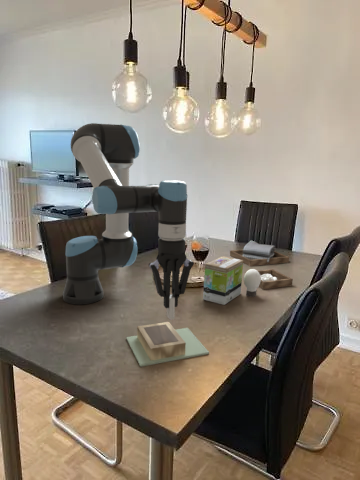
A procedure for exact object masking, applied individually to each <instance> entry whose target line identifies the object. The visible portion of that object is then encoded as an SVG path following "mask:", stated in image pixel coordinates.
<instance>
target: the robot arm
mask: <svg viewBox="0 0 360 480" xmlns="http://www.w3.org/2000/svg"><path fill="white" fill-rule="evenodd" d="M134 128H135V127H133V126H130V125H125V124H124V125H123V124H112V123H108V124H107V123H98V122H93V123H92V122H91V123H87V124H84V125H82V126H80V127H79V128H78V129H77V130H76V131H74V133H73V134H72V136H71V139H70V150H71V153H72V155H73V157H74V158H75V159H76V160H77V161H78V162H79V163H81V166H82V168H83V170H84V172H85V173H86V175H87V178H88V179H89V182H90V183H91V185H92V188H93V191H92V193H91V194H92V196H91V197H92V198H91V200H92V201H91V202H92V206H93V210H94V212H95V213H96V214H99V215H105V230H104V231H103V232H102V234H101V239H99V238H97V236H95V235H83V236H82V235H81V236H78V237H75V238H71V239H70V240H68V241H67V242H66V245H65V252H64V253H65V263H66V264H65V265H66V266H65V267H66V282H65V286H64V288H63V292H62V300H63V301H64V303H68V304H71V305H89V304H94V303H97V302H99V301H101V300H102V299H103V298H104V289H103V287H102V283H101V281H100V278H99V271H100V270H109V269H118V268H125V267H129V266H132V265H133V264H134V263H135V262H136V260H137V255H138V242H137V239H136V238H135V237H134V236H133V233H132V232H131V231H130V230H129V216H130V215H129V214H131V213H149V212H156V213H158V231H157V232H158V235H157V236H158V237H159V238H158V240H157V241H158V244H157V245H158V246H157V251H158V252H157V256H156V260H154V261H153V262H149V263H148V267H149V269H150V270H151V272H152V276H153V280H154V281H153V282H154V285H155V288H156V293H157V295H159V297H161V298H162V297H163V306H164V308H165V309H166V311H165V312H166V315H165V316H166V317H167V319H168V320H169V321H170V320H175V315H176V314H175V309H176V308H178V304H179V298H180V295H184V294H185V291H186V287H187V283H188V281H189V276H190V273H191V269H192V268H193V266H194V264H195V262H194V261H193V260H191V259H189V258H187V255H186V241H187V240H186V238H185V237H187V236H186V235H187V232H186V231H187V212H188V211H187V210H188V209H187V207H188V192H187V191H188V186H187V183H186V182H185V181H181V180H161V181H160V182H159V184H156V183H155V184H152V183H151V184H146V185H130V168H131V167H132V166H133V165H134V159H137V158H138V157H139V155H140V154H139V153H140V151H141V150H140V149H141V148H140V145H141V144H140V139H139V136H138V133H137V131H136V129H134ZM159 265H160V267H161V268H162V272H163V279H162V280H161V275H160V272H159ZM182 266H183V267H182ZM181 268H182V270H181ZM180 274H181V275H180ZM162 281H163V285H162Z"/></svg>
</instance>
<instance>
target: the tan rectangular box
mask: <svg viewBox="0 0 360 480" xmlns="http://www.w3.org/2000/svg"><path fill="white" fill-rule="evenodd" d="M136 336H137V337H138V339H139V341H140V343H141V344H142V346H143V348H144V350H145V351H146V353H147V355H148V357H149V358H150V360H157V359H162V358H168V357H173V356H179V355H184V354H185V347H186V343H185V341H184V340H183V339H182V338H181V336H180V335H179V334H178V333H177V332H176V329H175V328H174V326H173V325H172V324H171V323H170V321H164V322H159V323H153V324H152V323H151V324H144V325H137V328H136Z"/></svg>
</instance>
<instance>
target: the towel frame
mask: <svg viewBox="0 0 360 480" xmlns="http://www.w3.org/2000/svg"><path fill="white" fill-rule="evenodd" d="M229 256H230V258H234V259H240V260H243V265H244V264H245V265H246V266H249V267H255V266H266V265H275V264H284V263H286V264H287V263H289V262H290V257H289V256H287V255H285V254H283V253H280V252H279V251H276V250H275V251H274V255H273V256H272V258H270V259H269V262H267V259H255V260H250V259H248V258H246V257H244V256H243V249H237V250H236V249H234V250H229Z"/></svg>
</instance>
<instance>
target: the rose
mask: <svg viewBox="0 0 360 480" xmlns="http://www.w3.org/2000/svg"><path fill="white" fill-rule="evenodd" d="M261 280H262V281H273V280H278V279H277V278H276V277H273V276H272V275H271V274H263V275H261Z"/></svg>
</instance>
